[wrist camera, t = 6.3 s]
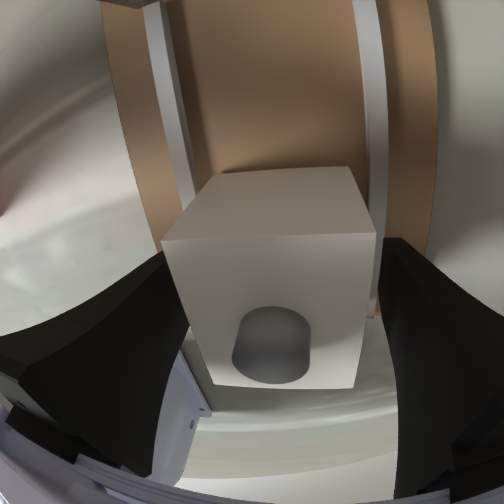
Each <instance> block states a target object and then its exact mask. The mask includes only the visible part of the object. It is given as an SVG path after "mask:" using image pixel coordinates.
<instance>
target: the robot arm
mask: <svg viewBox="0 0 504 504" xmlns="http://www.w3.org/2000/svg"><path fill="white" fill-rule="evenodd" d="M377 289H378V296H379V303H380V310H381V316H382V320H383V324H384V328H385V332H386V336H387V340H388V344H389V348H390V353H391V357H392V361H393V366H394V371H395V378H396V387H397V401H398V459H397V471H396V481H395V489H394V499H393V500H386V501H378V502H369V503H357V504H504V317H503V316H502V315H500V314H498V313H497V312H495V311H493V310H492V309H490V308H489V307H487V306H486V305H484V304H483V303H482V302H480V301H479V300H477V299H476V298H474V297H473V296H472V295H470V294H469V293H467V292H466V291H465V290H463V289H462V288H461V287H460V286H458V285H457V284H456V283H455V282H453V281H452V280H451V279H450V278H448V277H447V276H446V275H445V274H444V273H442V272H441V271H440V270H439V269H438V268H437V267H435V266H434V265H433V264H432V263H431V262H430V261H428V260H427V259H426V258H425V257H424V256H423V255H422V254H420V253H419V252H418V251H417V250H416V249H415V248H414V247H412V246H411V245H410V244H409V243H408V242H406V241H405V240H404V239H403V238H401V237H393V238H383V246H382V255H381V264H380V272H379V280H378V287H377ZM189 326H190V324H189V321H188V319H187V316H186V313H185V311H184V308H183V305H182V303H181V300H180V297H179V294H178V292H177V289H176V286H175V283H174V280H173V277H172V275H171V272H170V269H169V266H168V263H167V260H166V257H165V254H164V251H163V250H162V251H160V252H159V253H157V254H156V255H154V256H153V257H151V258H150V259H148V260H147V261H146V262H144V263H143V264H141V265H140V266H139V267H137V268H136V269H134V270H133V271H132V272H130V273H129V274H127V275H126V276H124V277H123V278H121V279H120V280H118V281H117V282H115V283H114V284H113V285H111V286H110V287H108V288H107V289H105V290H104V291H102V292H101V293H99V294H97V295H96V296H94V297H92V298H91V299H89V300H87V301H85V302H84V303H82V304H80V305H78V306H76V307H75V308H73V309H70V310H68V311H66V312H64V313H62V314H60V315H58V316H56V317H54V318H52V319H50V320H47V321H45V322H42V323H40V324H37V325H35V326H32V327H30V328H27V329H24V330H21V331H18V332H14V333H11V334H7V335H4V336H0V392H1V393H2V394H3V395H4V396H5V397H6V398H7V399H8V400H9V401H10V402H11V403H12V404H13V405H14V406H13V408H12V410H11V411H10V412H9V411H8V410H7V409H6V408H5V407H4V406H3V405H1V404H0V494H1V496H0V504H273V503H262V502H252V501H244V500H236V499H230V498H224V497H217V496H212V495H207V494H202V493H197V492H193V491H189V490H184V489H180V488H176V487H173V486H174V485H175V484H176V483H177V482H178V481H179V479H180V478H181V476H182V474H183V471H184V468H185V464H186V461H187V458H188V454H189V451H190V448H191V444H192V441H193V438H194V434H195V431H196V428H197V424H198V421H199V418H200V417H206V418H209V417H211V415H212V412H211V410H210V408H209V406H208V404H207V402H206V400H205V399H204V397H203V395H202V393H201V391H200V389H199V387H198V385H197V383H196V381H195V379H194V377H193V375H192V373H191V371H190V369H189V367H188V365H187V363H186V361H185V359H184V357H183V354H182V352H181V350H180V347H181V345H182V342H183V340H184V338H185V335H186V333H187V331H188V328H189Z"/></svg>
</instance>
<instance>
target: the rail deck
mask: <svg viewBox="0 0 504 504" xmlns="http://www.w3.org/2000/svg"><path fill="white" fill-rule="evenodd" d="M101 10H102V19H103V26H104V34H105V41H106V47H107V54H108V60H109V66H110V71H111V77H112V82H113V87H114V92H115V97H116V102H117V107H118V112H119V116H120V121H121V125H122V129H123V133H124V138H125V142H126V146H127V150H128V154H129V158H130V161H131V165H132V169H133V173H134V176H135V180H136V184H137V187H138V191H139V194H140V198H141V201H142V204H143V208H144V211H145V214H146V217H147V221H148V224H149V227H150V230H151V233H152V236H153V240H154V243H155V246H156V249H157V252H158V253H159V252H160V251H162V250H163V248H162V245H161V240H162V238H163V237H164V236H165V234H166V233H167V232H168V230H169V229H170V228H171V227H172V225H173V224H174V223H175V221H176V220H177V219H178V218H179V216H180V215H181V214H182V213H183V211H184V210H185V209H186V208H187V206H188V205H189V204H190V203H191V201H192V200H193V199H194V198H195V196H196V195H197V194H198V193H199V192H200V190H201V189H202V188H203V187H204V186H205V184H206V183H207V182H208V181H209V180H210V178H211V177H212V176H213V175H216V174H225V173H236V172H247V171H259V170H272V169H287V168H306V167H331V166H349V168H350V170H351V173H352V175H353V177H354V179H355V182H356V184H357V186H358V189H359V191H360V193H361V196H362V198H363V200H364V203H365V205H366V208H367V210H368V213H369V215H370V218H371V220H372V223H373V225H374V228H375V230H376V243H375V254H374V265H373V274H372V282H371V290H370V298H369V305H368V312H367V318H374V316H381V310H380V303H379V296H378V289H377V287H378V280H379V272H380V264H381V255H382V246H383V238H393V237H401V238H403V239H404V240H405V241H406V242H408V243H409V244H410V245H411V246H412V247H414V248H415V249H416V250H417V251H418V252H419V253H420V254H422V255H423V256H425V251H426V246H427V240H428V234H429V227H430V221H431V214H432V206H433V197H434V188H435V177H436V163H437V144H438V92H437V73H436V61H435V51H434V42H433V34H432V27H431V20H430V14H429V9H428V3H427V0H163V1H158V2H155V3H152V4H149V5H147V6H144V7H143V8H140V9H138V10H137V9H133V8H129V7H125V6H121V5H117V4H112V3H107V2H102V1H101Z"/></svg>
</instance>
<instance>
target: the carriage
mask: <svg viewBox="0 0 504 504" xmlns="http://www.w3.org/2000/svg"><path fill="white" fill-rule="evenodd" d="M375 243H376V230H375V228H374V225H373V223H372V220H371V218H370V215H369V213H368V210H367V208H366V205H365V203H364V200H363V198H362V196H361V193H360V191H359V189H358V186H357V184H356V182H355V179H354V177H353V175H352V173H351V170H350V168H349V166H331V167H306V168H287V169H272V170H259V171H247V172H236V173H225V174H216V175H213V176H212V177H211V178H210V180H209V181H208V182H207V183H206V184H205V186H204V187H203V188H202V189H201V190H200V192H199V193H198V194H197V195H196V196H195V198H194V199H193V200H192V201H191V203H190V204H189V205H188V206H187V208H186V209H185V210H184V211H183V213H182V214H181V215H180V216H179V218H178V219H177V220H176V221H175V223H174V224H173V225H172V227H171V228H170V229H169V230H168V232H167V233H166V234H165V236H164V237H163V238H162V240H161V245H162V248H163V251H164V254H165V257H166V260H167V263H168V266H169V269H170V272H171V275H172V277H173V280H174V283H175V286H176V289H177V292H178V294H179V297H180V300H181V303H182V305H183V308H184V311H185V313H186V316H187V319H188V321H189V324H190V327H191V329H192V332H193V334H194V337H195V339H196V342H197V344H198V347H199V349H200V352H201V354H202V357H203V359H204V361H205V364H206V366H207V369H208V371H209V373H210V376H211V378H212V380H213V383H214V384H216V385H227V386H239V387H254V388H275V389H344V388H353V386H354V382H355V377H356V373H357V368H358V363H359V358H360V353H361V347H362V342H363V336H364V331H365V325H366V318H367V312H368V305H369V298H370V290H371V282H372V274H373V265H374V254H375Z"/></svg>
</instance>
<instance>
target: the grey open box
mask: <svg viewBox="0 0 504 504" xmlns="http://www.w3.org/2000/svg"><path fill="white" fill-rule="evenodd" d="M97 1H102V2H107V3H112V4H117V5H121V6H125V7H129V8H133V9H137V10H138V9H140V8H143V7H144V6H147V5H149V4H152V3H155V2H158V1H163V0H97Z"/></svg>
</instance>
